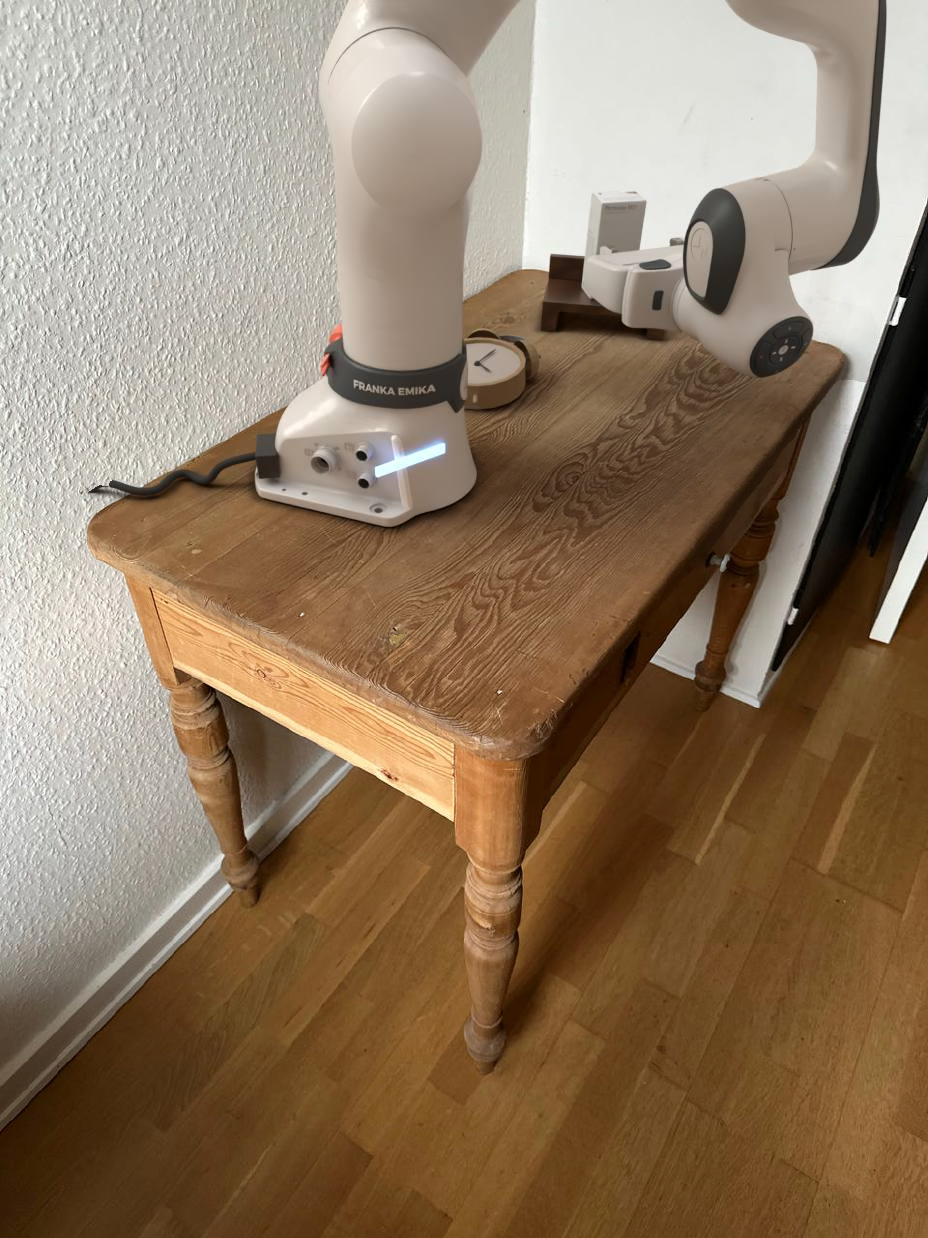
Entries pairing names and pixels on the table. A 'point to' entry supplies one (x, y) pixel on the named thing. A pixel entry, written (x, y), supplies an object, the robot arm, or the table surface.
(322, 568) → the table surface
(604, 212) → the cosmetic box
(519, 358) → the alarm clock
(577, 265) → the brown wooden bench
